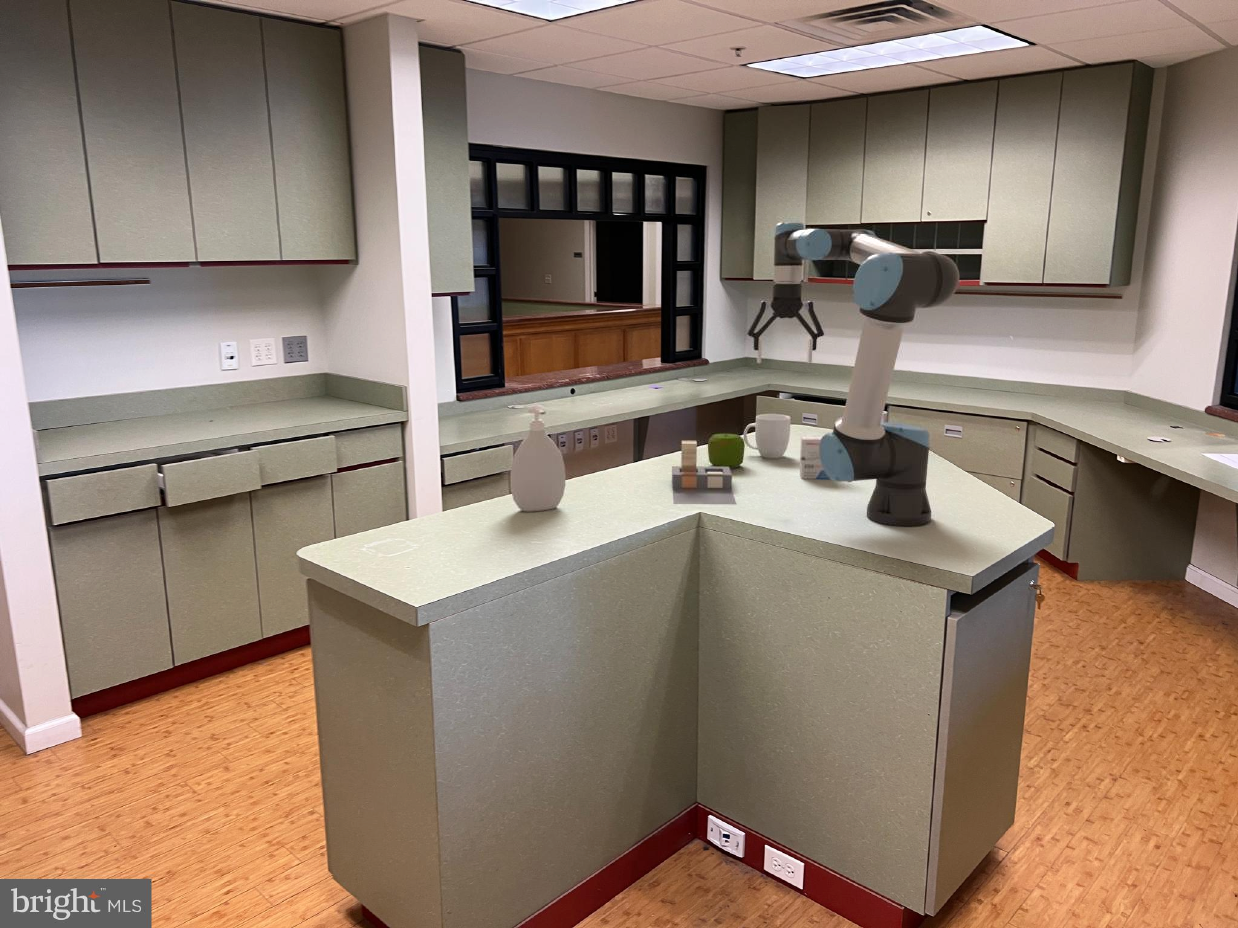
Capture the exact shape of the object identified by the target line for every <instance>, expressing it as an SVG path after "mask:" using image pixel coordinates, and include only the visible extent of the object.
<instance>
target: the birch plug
mask: <svg viewBox="0 0 1238 928" xmlns="http://www.w3.org/2000/svg"><path fill="white" fill-rule="evenodd" d="M697 449H698V443H697V440H681V453H680V455H681V459H680V460H681V462H680V463H681V464H680V466H681V472H696V466H697V461H698V459H697V457H698V456H697V453H698V452H697V451H698V450H697Z"/></svg>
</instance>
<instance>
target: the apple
mask: <svg viewBox="0 0 1238 928" xmlns="http://www.w3.org/2000/svg"><path fill="white" fill-rule="evenodd" d="M745 444H746V443H745V441H744V437H742V436H741V435H739V434H735V433H734V434H733V433H728V432H726V433H716V434H715V433H714V434H712V435H711V437H710V438H709V439H708V441H707V454H708V455H707V456H708V461H709V463H710V464H711V465H712V466H713V467H729V468H730V470H731V469H736V468H737V467H738V466H740V465H742V464H743V461H744V459H745V458H744V456H745V447H746V445H745Z"/></svg>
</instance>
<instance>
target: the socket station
mask: <svg viewBox="0 0 1238 928" xmlns="http://www.w3.org/2000/svg"><path fill="white" fill-rule="evenodd" d="M732 485H733V473H732V472H731V469H730V468H729V467H715V466H698V465H696V472H681V465H680V466H679V465H678V466H677V465H676V466H675V465H671V486H672V487H671V488H672V499H673V504H677V505H679V504H680V505H681V504H682V505H685V504H686V505H737V501H736V499H735V496H734V493H733V490H732V487H733V486H732Z"/></svg>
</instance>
